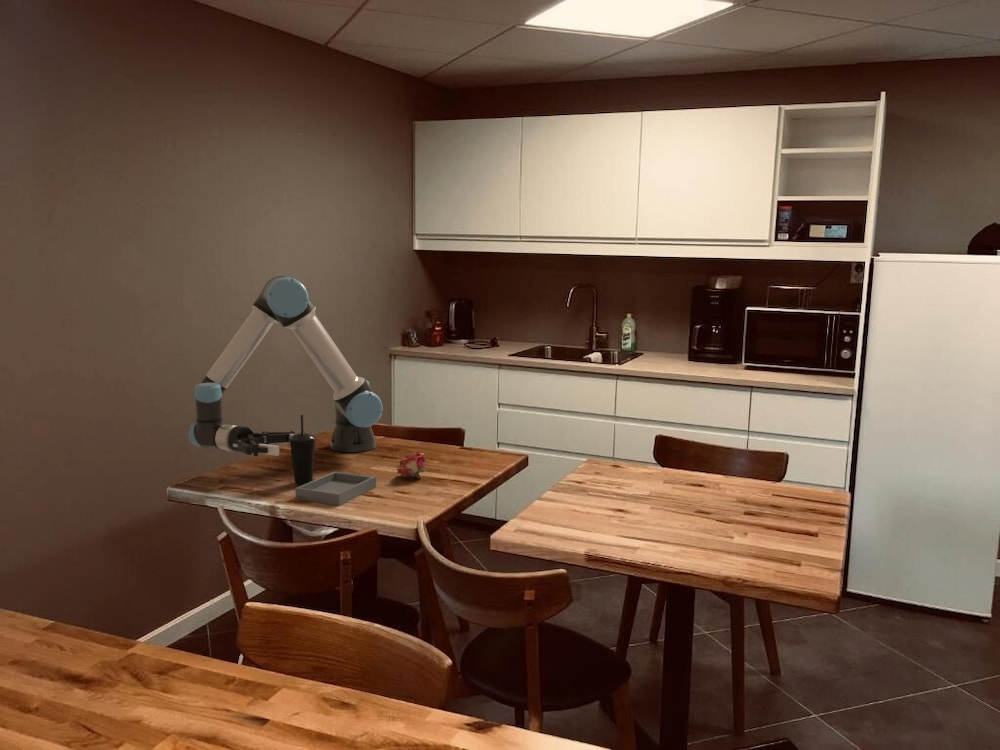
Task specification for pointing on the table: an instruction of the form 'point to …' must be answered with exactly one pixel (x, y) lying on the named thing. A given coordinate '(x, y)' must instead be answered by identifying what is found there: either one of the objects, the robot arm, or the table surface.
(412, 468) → the flower
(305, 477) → the drinking cup
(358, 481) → the tray
